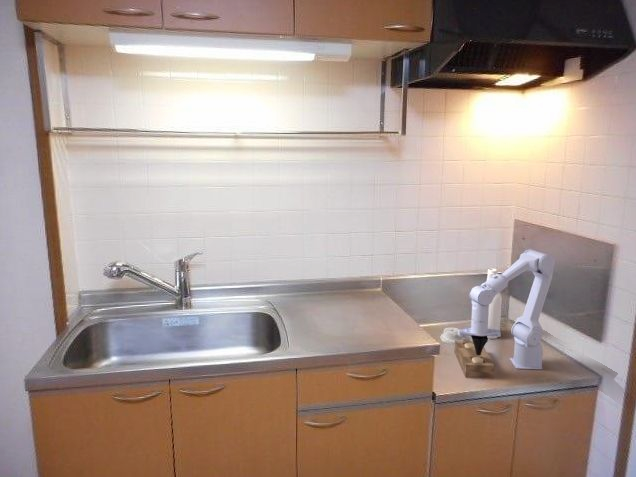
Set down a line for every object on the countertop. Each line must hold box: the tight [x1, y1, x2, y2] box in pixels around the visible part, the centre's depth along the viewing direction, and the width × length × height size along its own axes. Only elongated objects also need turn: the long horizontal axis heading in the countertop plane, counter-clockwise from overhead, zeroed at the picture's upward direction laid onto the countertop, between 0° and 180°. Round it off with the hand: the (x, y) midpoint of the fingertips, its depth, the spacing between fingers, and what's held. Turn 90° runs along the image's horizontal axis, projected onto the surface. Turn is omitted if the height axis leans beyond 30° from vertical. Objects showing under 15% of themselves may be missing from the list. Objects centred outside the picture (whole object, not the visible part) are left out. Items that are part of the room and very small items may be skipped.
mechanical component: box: [439, 326, 465, 345], centre depth 196 cm, size 10×4×10 cm
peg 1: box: [465, 343, 475, 348], centre depth 180 cm, size 4×4×5 cm
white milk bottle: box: [486, 267, 503, 340], centre depth 196 cm, size 9×9×30 cm
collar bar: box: [453, 340, 496, 379], centre depth 174 cm, size 10×20×5 cm, turn 175°
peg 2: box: [472, 357, 483, 363], centre depth 168 cm, size 4×4×5 cm
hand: (478, 354), depth 167 cm, fingers closed
